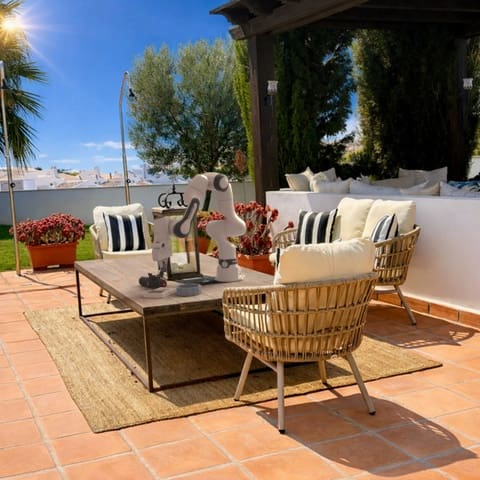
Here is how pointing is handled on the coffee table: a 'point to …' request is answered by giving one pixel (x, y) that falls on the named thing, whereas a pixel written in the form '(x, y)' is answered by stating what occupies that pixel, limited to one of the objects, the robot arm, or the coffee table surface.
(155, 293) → the cradle
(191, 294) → the blue-gray round bowl
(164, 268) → the cell
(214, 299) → the coffee table surface
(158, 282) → the laser sight
